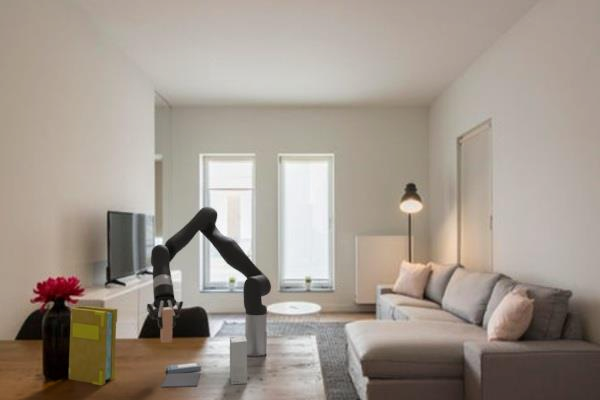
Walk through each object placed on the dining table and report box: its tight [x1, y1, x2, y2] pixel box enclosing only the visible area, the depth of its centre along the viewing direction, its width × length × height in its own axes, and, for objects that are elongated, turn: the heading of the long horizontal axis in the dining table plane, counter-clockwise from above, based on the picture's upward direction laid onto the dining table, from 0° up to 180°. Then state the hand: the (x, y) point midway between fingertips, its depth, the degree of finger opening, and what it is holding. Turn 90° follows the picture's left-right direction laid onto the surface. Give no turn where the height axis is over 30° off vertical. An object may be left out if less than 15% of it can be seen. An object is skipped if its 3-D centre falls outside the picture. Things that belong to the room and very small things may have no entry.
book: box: [68, 305, 118, 386], centre depth 155 cm, size 17×7×25 cm, turn 71°
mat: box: [161, 372, 202, 389], centre depth 155 cm, size 12×12×1 cm
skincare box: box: [229, 335, 248, 385], centre depth 156 cm, size 8×6×15 cm
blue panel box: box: [166, 361, 202, 374], centre depth 165 cm, size 12×5×2 cm, turn 112°
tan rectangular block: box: [159, 307, 174, 344], centre depth 161 cm, size 4×5×12 cm
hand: (167, 327), depth 159 cm, fingers closed on tan rectangular block, 3 cm apart
